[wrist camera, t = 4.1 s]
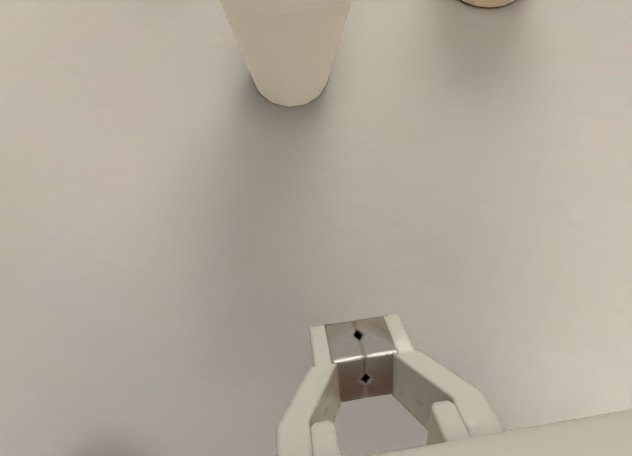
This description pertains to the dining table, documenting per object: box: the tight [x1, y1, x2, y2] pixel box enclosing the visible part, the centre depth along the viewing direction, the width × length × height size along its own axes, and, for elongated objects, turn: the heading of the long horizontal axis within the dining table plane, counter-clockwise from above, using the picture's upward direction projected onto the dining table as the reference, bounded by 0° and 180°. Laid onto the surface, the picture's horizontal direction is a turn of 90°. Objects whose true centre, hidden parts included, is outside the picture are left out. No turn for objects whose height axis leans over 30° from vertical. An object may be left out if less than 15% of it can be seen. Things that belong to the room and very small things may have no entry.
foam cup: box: [220, 0, 351, 107], centre depth 25 cm, size 10×9×13 cm
